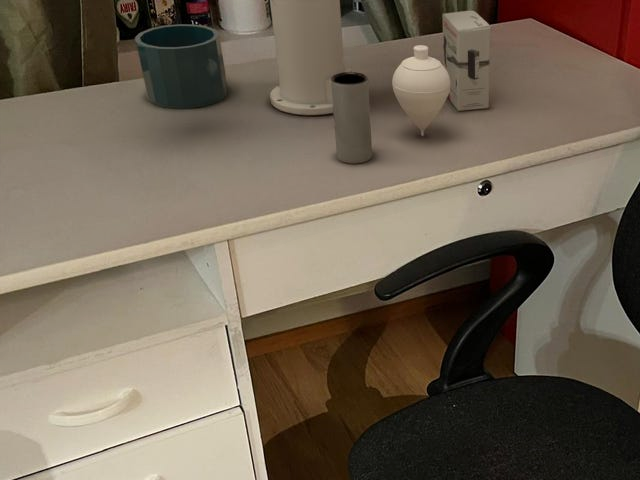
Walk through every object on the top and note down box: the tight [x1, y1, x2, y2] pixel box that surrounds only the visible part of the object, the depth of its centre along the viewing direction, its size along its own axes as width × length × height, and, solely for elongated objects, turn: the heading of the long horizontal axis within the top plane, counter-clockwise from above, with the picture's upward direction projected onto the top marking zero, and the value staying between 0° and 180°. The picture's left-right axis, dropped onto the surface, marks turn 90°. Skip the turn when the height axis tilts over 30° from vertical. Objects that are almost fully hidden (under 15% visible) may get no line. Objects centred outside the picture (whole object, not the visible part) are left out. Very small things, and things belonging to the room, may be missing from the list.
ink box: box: [442, 10, 491, 112], centre depth 126 cm, size 8×5×12 cm, turn 17°
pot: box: [134, 23, 228, 110], centre depth 126 cm, size 11×11×8 cm
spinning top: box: [391, 44, 451, 137], centre depth 114 cm, size 8×8×12 cm
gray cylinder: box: [331, 71, 373, 165], centre depth 109 cm, size 4×4×10 cm
